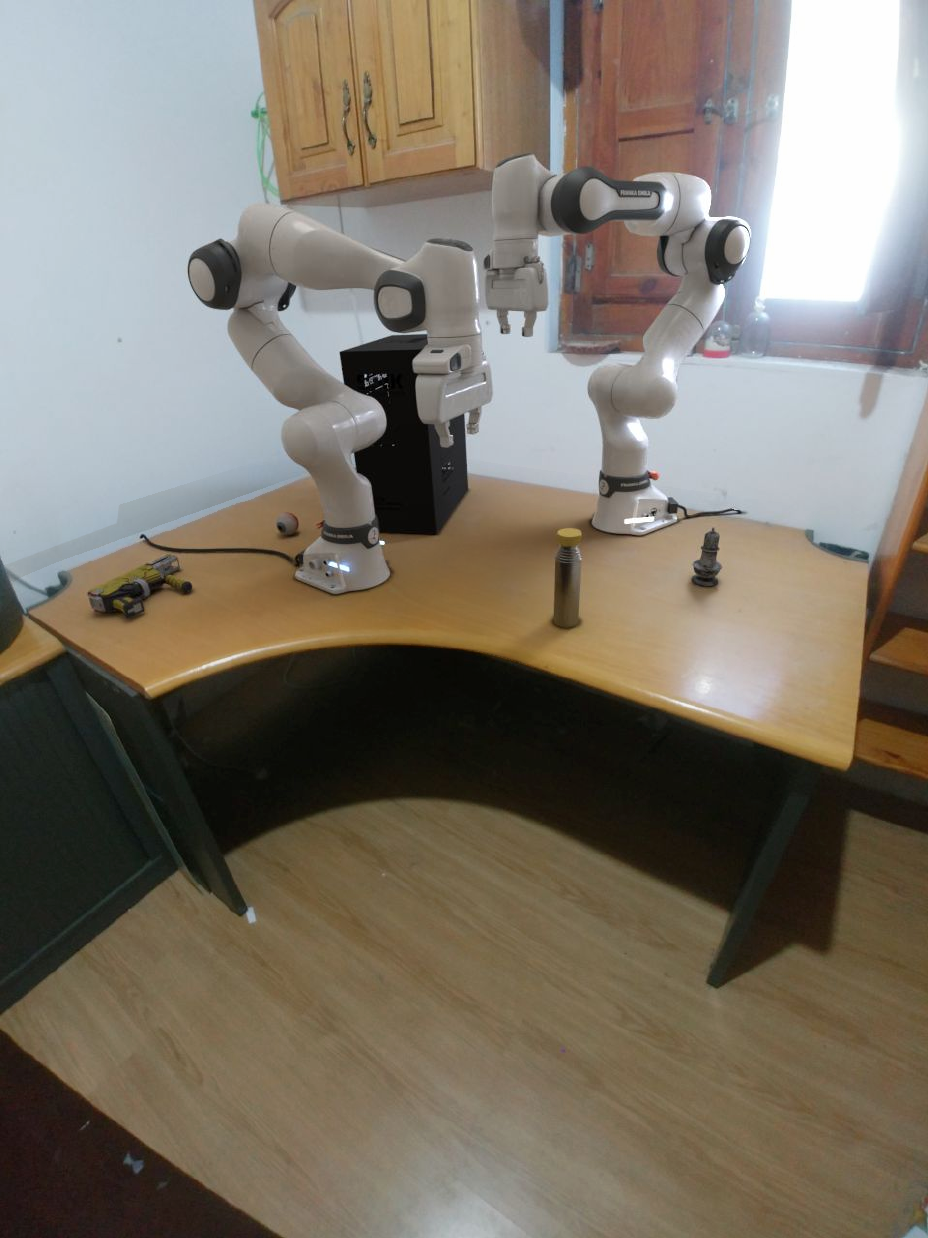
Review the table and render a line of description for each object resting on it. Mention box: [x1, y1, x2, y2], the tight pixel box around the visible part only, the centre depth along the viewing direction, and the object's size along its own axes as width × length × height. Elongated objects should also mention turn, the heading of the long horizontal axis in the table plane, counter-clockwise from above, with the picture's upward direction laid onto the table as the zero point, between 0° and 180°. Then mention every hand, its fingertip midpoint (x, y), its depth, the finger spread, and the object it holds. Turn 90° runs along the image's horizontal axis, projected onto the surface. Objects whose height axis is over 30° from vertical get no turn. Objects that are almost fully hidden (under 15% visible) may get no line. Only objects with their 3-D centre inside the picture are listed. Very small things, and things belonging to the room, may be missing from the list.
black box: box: [339, 333, 469, 535], centre depth 166 cm, size 38×20×45 cm, turn 167°
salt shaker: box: [691, 527, 723, 587], centre depth 126 cm, size 6×6×12 cm
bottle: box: [552, 545, 583, 629], centre depth 113 cm, size 5×5×18 cm
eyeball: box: [275, 511, 300, 536], centre depth 163 cm, size 6×6×6 cm
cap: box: [556, 527, 582, 547], centre depth 109 cm, size 4×4×2 cm
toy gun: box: [86, 553, 193, 620], centre depth 136 cm, size 5×24×15 cm
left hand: (460, 439), depth 106 cm, fingers open, 8 cm apart
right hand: (516, 335), depth 125 cm, fingers open, 8 cm apart
